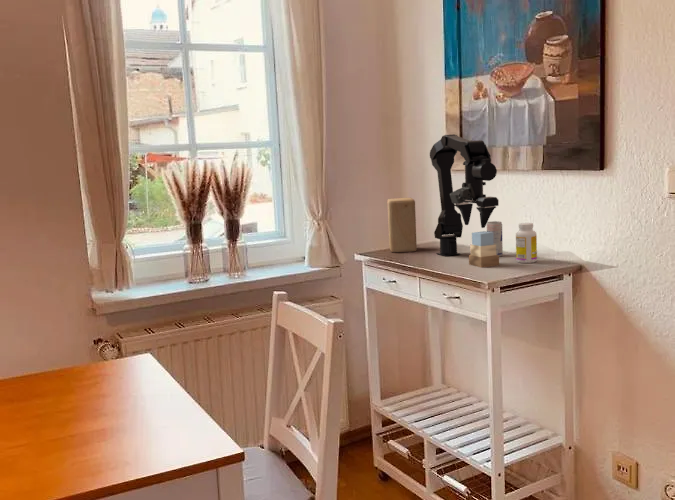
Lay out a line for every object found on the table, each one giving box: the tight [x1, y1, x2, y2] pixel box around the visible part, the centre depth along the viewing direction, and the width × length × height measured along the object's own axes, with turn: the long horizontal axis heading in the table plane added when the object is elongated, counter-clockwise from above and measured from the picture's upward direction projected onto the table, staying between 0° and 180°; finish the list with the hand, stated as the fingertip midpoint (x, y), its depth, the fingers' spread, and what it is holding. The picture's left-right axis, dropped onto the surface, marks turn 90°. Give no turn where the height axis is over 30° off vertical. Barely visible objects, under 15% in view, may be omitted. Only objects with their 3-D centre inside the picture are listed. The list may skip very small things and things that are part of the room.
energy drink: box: [486, 220, 504, 258], centre depth 241 cm, size 5×5×12 cm
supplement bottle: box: [515, 222, 538, 264], centre depth 227 cm, size 7×7×13 cm
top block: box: [471, 230, 494, 246], centre depth 226 cm, size 5×5×4 cm
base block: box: [468, 254, 500, 268], centre depth 226 cm, size 7×7×4 cm
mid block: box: [469, 243, 496, 257], centre depth 226 cm, size 6×6×4 cm
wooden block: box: [386, 197, 418, 253], centre depth 263 cm, size 10×10×20 cm
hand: (474, 226), depth 227 cm, fingers open, 9 cm apart
